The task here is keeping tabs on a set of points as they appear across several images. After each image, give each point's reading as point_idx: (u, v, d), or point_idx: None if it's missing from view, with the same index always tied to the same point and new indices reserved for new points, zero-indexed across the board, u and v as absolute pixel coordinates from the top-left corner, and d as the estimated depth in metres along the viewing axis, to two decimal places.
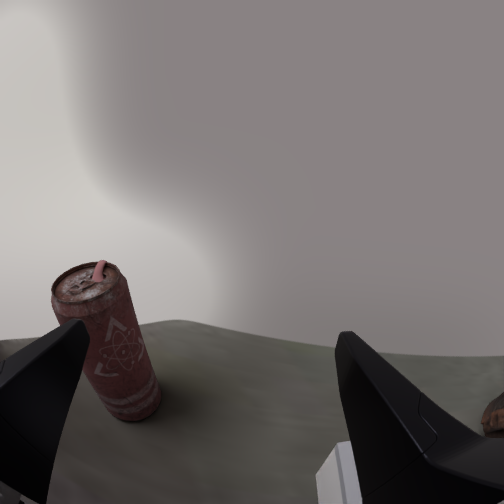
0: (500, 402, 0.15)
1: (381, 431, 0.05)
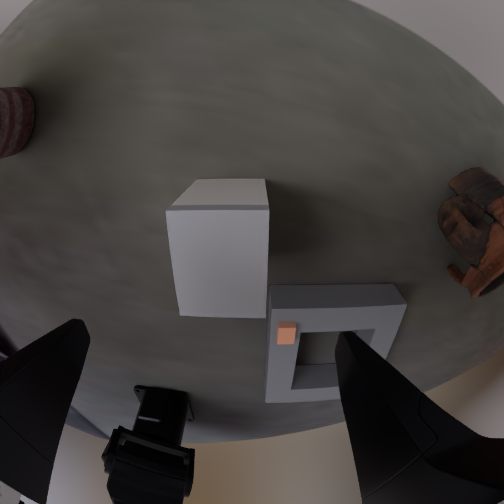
0: (479, 192, 0.14)
1: (381, 431, 0.05)
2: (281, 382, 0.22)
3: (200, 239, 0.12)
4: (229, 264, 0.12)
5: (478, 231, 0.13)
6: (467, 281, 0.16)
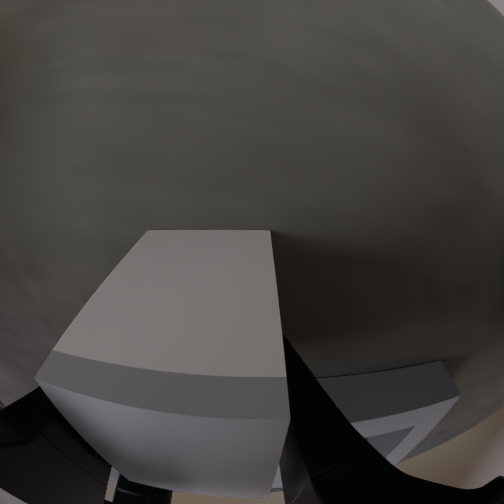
0: None
1: (288, 443, 0.05)
2: None
3: (122, 435, 0.04)
4: (195, 468, 0.04)
5: None
6: None
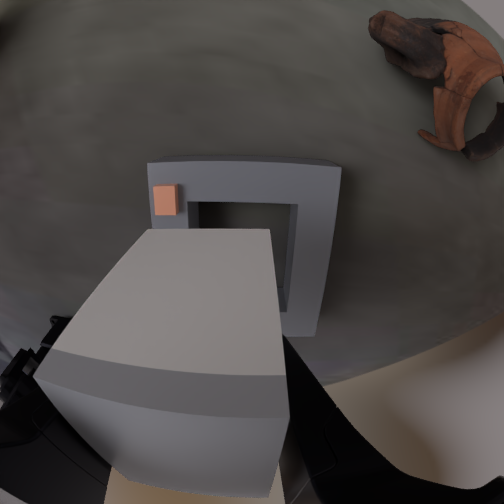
0: (424, 21, 0.09)
1: (288, 443, 0.05)
2: None
3: (121, 434, 0.04)
4: (194, 467, 0.04)
5: (419, 25, 0.08)
6: (440, 118, 0.11)
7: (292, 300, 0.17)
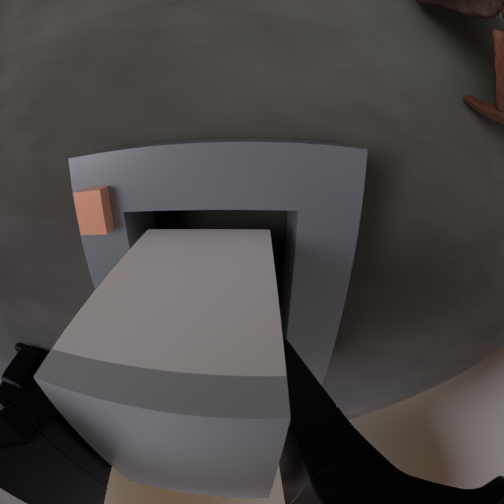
0: None
1: (288, 443, 0.05)
2: None
3: (122, 435, 0.04)
4: (194, 467, 0.04)
5: None
6: None
7: None
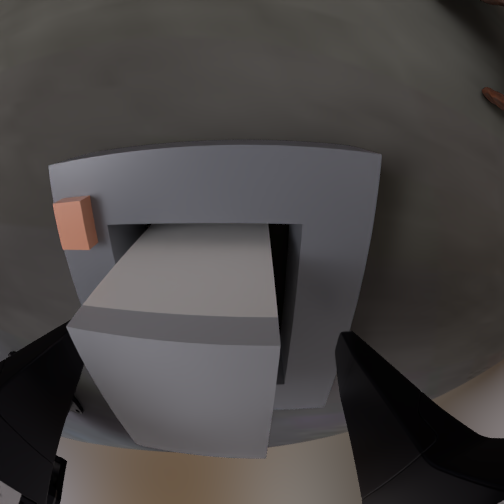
0: None
1: (381, 431, 0.05)
2: None
3: (139, 379, 0.05)
4: (200, 413, 0.06)
5: None
6: None
7: (292, 370, 0.11)
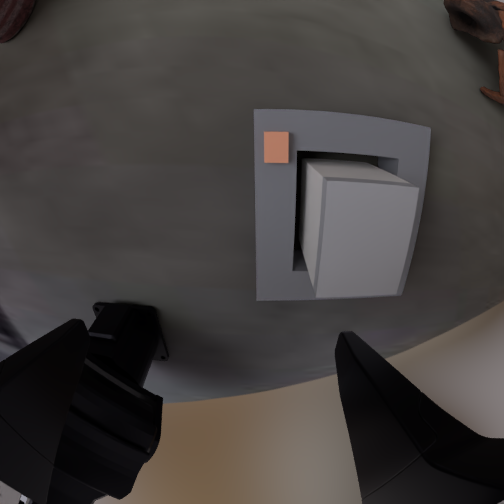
0: None
1: (381, 431, 0.05)
2: (277, 254, 0.16)
3: (357, 213, 0.11)
4: (379, 239, 0.12)
5: (485, 1, 0.05)
6: None
7: None
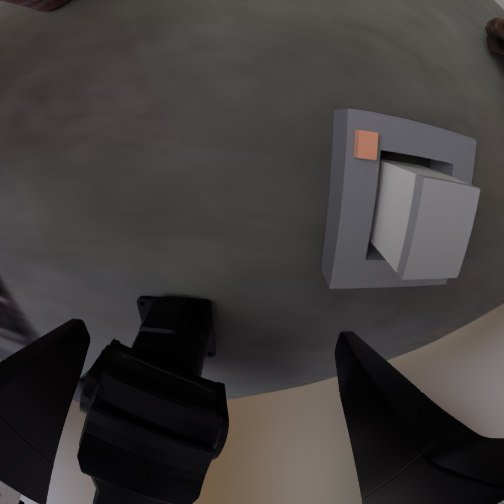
0: None
1: (381, 431, 0.05)
2: (355, 243, 0.17)
3: (440, 206, 0.12)
4: (452, 229, 0.12)
5: None
6: None
7: None
